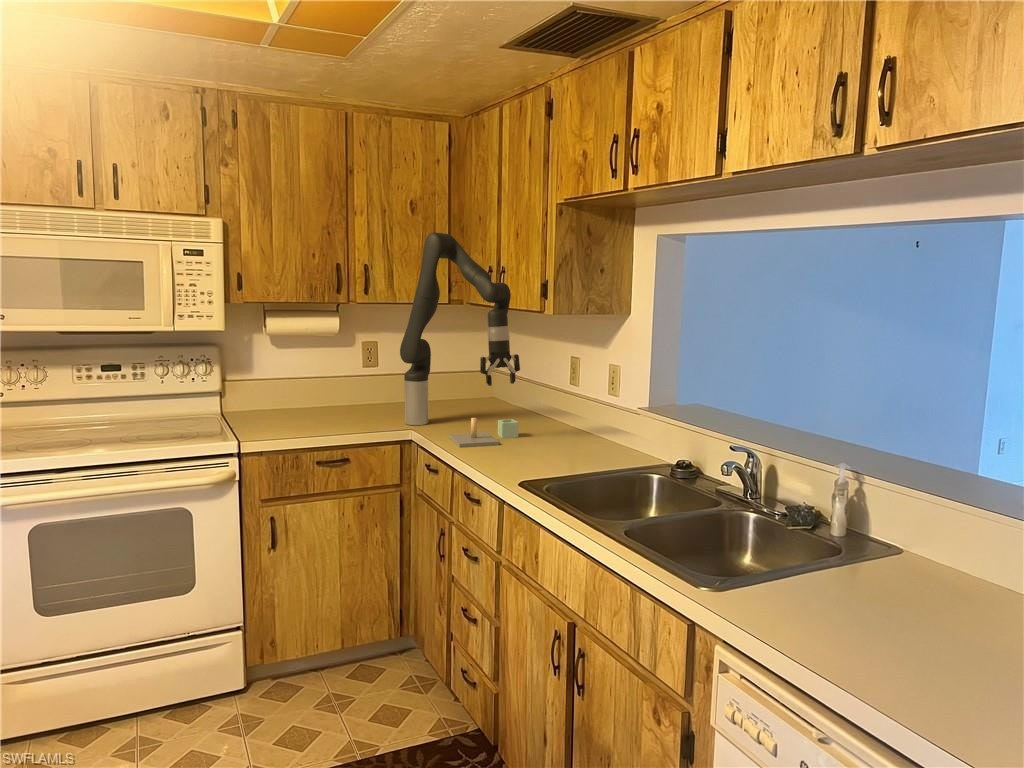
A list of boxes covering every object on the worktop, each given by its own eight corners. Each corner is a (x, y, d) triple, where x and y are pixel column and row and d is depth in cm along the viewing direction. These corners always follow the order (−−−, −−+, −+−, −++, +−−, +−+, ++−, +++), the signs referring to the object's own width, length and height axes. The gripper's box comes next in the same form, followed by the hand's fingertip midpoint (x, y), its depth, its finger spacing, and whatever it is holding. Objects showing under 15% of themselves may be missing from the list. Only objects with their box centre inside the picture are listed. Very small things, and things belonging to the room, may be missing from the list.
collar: (497, 434, 271) (497, 420, 270) (513, 433, 272) (513, 419, 271) (502, 438, 265) (502, 423, 264) (518, 437, 267) (518, 422, 266)
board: (449, 437, 265) (449, 414, 264) (487, 435, 269) (487, 413, 268) (459, 447, 250) (459, 423, 249) (499, 445, 254) (499, 421, 253)
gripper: (513, 337, 268) (515, 382, 269) (476, 340, 263) (478, 385, 264) (521, 338, 261) (523, 383, 262) (483, 340, 256) (485, 387, 257)
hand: (501, 384), depth 263 cm, fingers open, 8 cm apart
